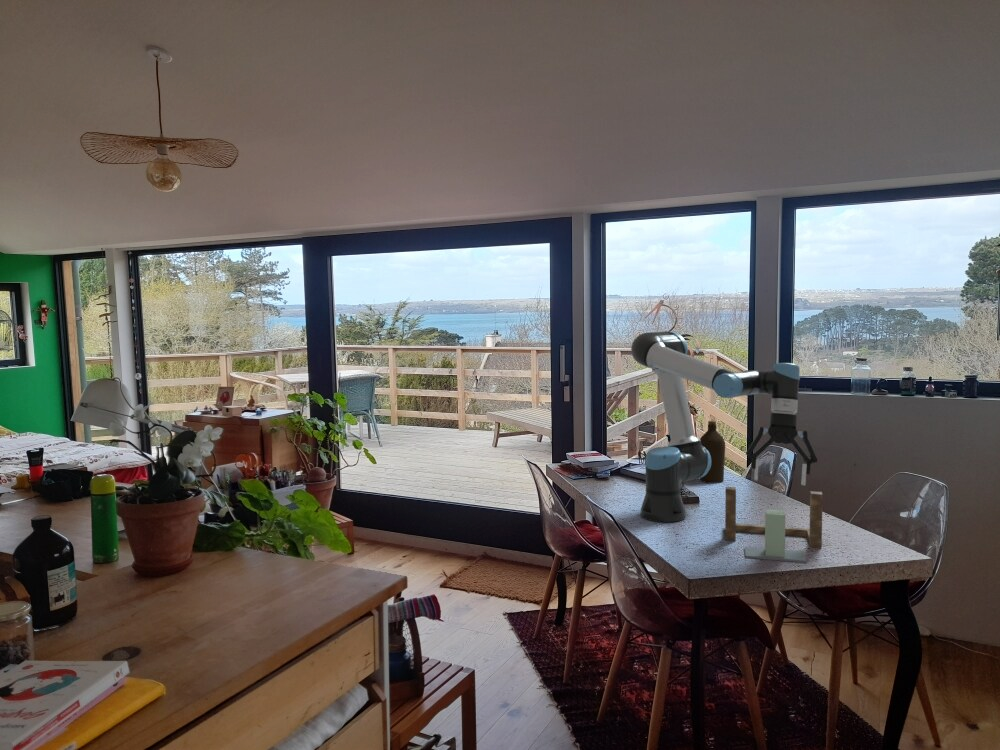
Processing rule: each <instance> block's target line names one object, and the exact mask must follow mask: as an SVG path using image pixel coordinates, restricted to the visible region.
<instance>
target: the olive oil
mask: <svg viewBox="0 0 1000 750" xmlns="http://www.w3.org/2000/svg"><path fill="white" fill-rule="evenodd" d="M707 423H708V424H707V431H705V433H703V435H702V436H701V437H700V438H699V439H700V440H701V445H702V446H703V447H705V448H706V450H708V451H709V453H710V456H711V467H710V470H709V471H708V473H707V474H706V475H705V476H703V477H701V478H699V479H700V481H701V480H702V481H701V482H703V481H705V482H704V483H708V482H720V483H722V482H724V481H725V480H724V477H725V459H726V457H725V456H726V442H725V439H724V437H723V436H722V435H721V434H720V433H719V432H718V430H717V421H716V420H708V421H707Z"/></svg>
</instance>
